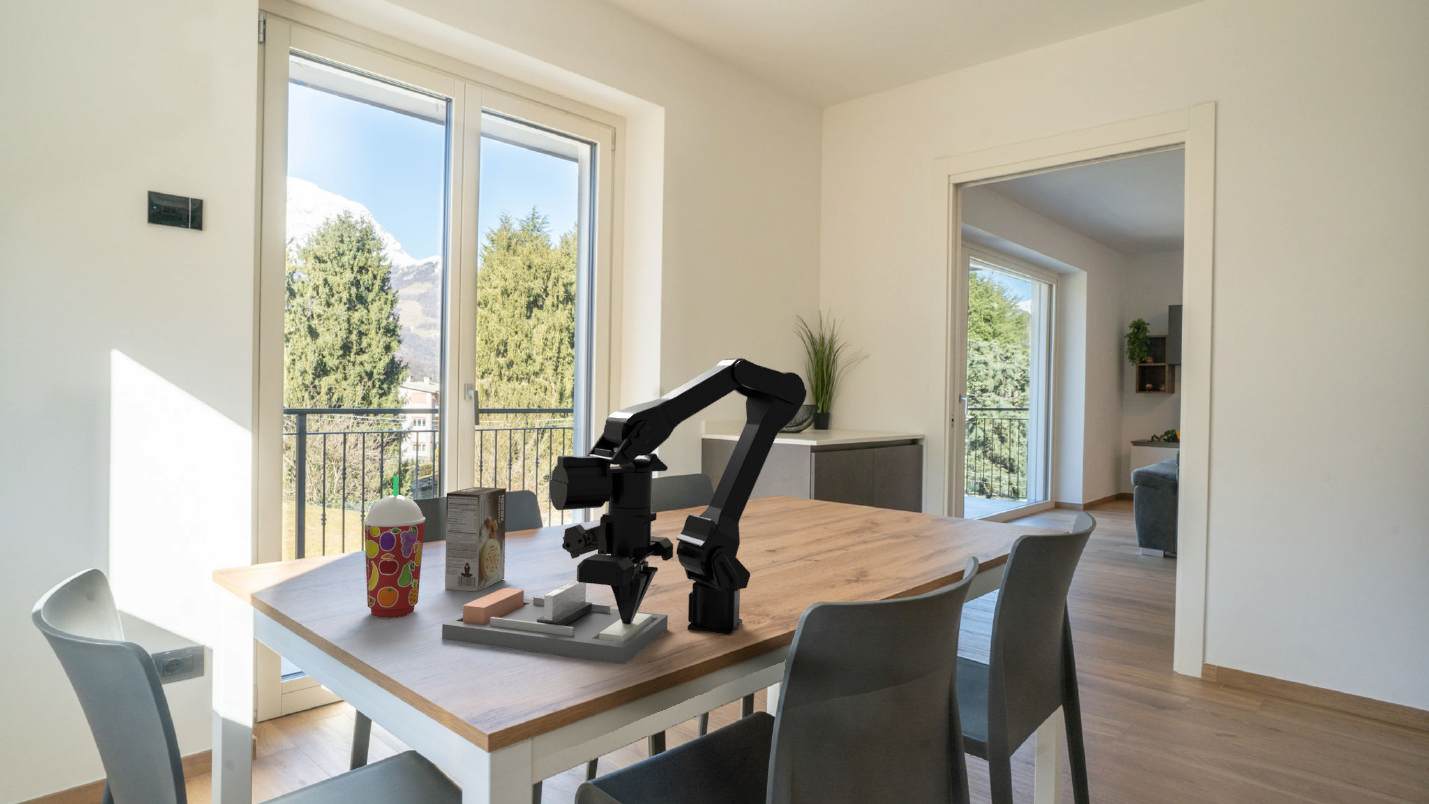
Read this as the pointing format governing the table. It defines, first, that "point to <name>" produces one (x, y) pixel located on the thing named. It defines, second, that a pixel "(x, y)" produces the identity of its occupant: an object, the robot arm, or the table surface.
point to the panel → (556, 633)
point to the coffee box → (475, 538)
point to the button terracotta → (493, 606)
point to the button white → (626, 628)
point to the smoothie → (393, 555)
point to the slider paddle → (565, 604)
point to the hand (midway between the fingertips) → (627, 623)
